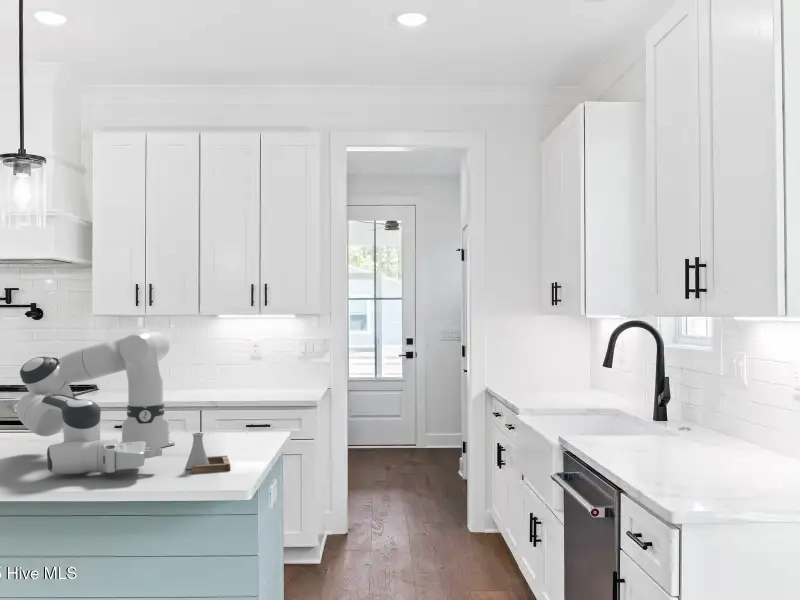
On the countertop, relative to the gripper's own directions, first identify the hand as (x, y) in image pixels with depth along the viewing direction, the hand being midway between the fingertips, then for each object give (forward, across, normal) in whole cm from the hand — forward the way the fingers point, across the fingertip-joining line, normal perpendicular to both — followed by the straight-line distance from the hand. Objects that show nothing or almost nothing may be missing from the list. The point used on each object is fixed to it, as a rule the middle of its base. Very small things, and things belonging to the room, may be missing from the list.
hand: (162, 451), depth 202 cm
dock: (+13, 0, -5) cm, 14 cm away
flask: (+10, -1, -6) cm, 11 cm away
